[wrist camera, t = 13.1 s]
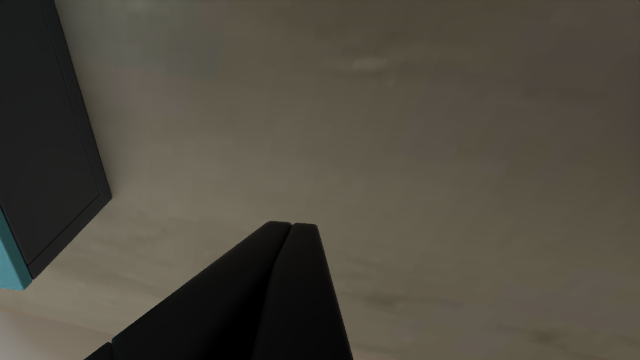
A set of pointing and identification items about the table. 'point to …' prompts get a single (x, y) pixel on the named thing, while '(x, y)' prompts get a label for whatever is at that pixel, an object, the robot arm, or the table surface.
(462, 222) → the table surface
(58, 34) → the tray
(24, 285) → the cover
